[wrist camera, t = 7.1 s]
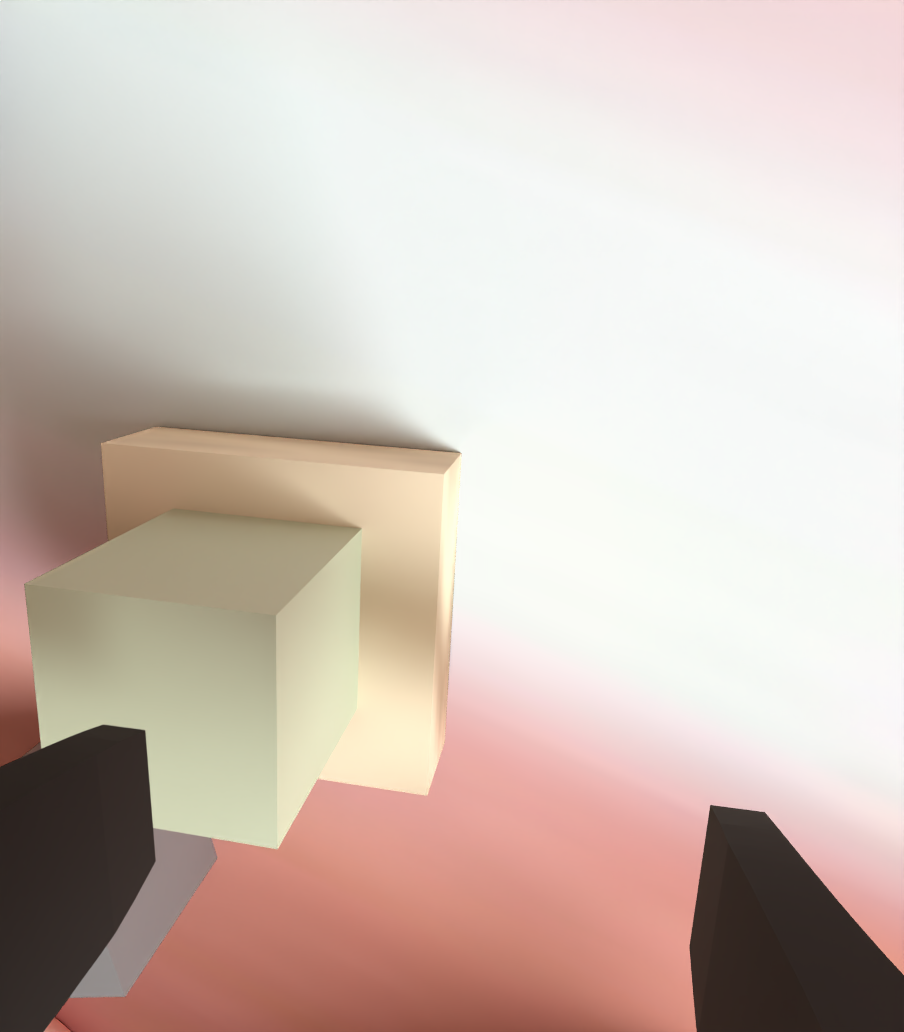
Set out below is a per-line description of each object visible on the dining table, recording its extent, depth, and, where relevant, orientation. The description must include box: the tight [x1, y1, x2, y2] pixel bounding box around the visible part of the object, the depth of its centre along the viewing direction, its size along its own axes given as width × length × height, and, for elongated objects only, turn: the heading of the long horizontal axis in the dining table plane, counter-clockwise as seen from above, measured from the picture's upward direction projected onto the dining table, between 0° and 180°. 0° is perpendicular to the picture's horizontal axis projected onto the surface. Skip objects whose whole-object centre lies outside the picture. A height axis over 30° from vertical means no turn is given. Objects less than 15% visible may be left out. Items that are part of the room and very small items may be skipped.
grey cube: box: [22, 742, 217, 998], centre depth 21 cm, size 4×4×5 cm
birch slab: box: [101, 427, 461, 796], centre depth 20 cm, size 8×8×2 cm
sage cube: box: [24, 509, 362, 849], centre depth 16 cm, size 4×4×5 cm
